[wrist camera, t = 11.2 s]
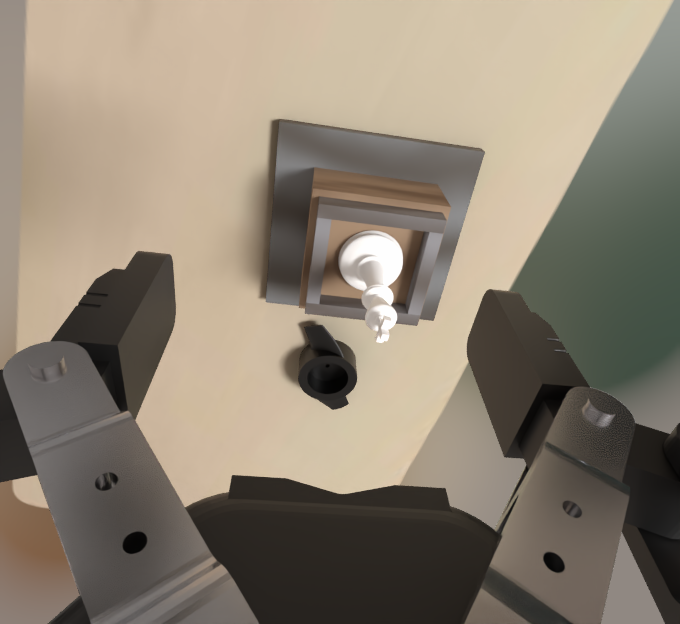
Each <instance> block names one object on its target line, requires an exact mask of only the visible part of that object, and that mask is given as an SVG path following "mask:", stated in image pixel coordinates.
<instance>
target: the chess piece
mask: <svg viewBox="0 0 680 624" xmlns="http://www.w3.org/2000/svg"><path fill="white" fill-rule="evenodd" d="M338 264H339V269H340V271H341V274H342V276H343V278H344V279H345V281H346V282H347V283H348V284H350V285H351V286H352V287H354V288H356V289H359V290H362V291H364V292H363V294H362V298H361V300H362V304H363V305H364V307H365V308H366V309H367V312H366V315H365V322H366V324H367V326H368V327H369V328H370V329H372V330H374V331H378V332H377V335H376V337H375V338H376V342H380V343H383V341H387V340H388V338H389V331H388V330H389V329H390V328H392V327H393V326H394V325H395V323H396V321H397V313H396V311H395V309H394V308H393V307H392V306H391V304H392V302H393V293H392V291H391V289H390V288H389V287H387V286H389V285H390V284H392V283H393V282H394V281H395V280H396V279H397V277H398V276H399V274H400V272H401V270H402V266H403V254H402V250H401V247H400V245H399V244H398V242H397V241H396V240H395V239H394V238H393V237H392V236H390V235H388V234H386V233H384V232H381V231H374V230H370V231H364V232H360V233H358V234H356V235H354V236H352V237H351V238H349V239H348V240H347V241H346V242H345V244H344V245H343V246H342V248H341V250H340V253H339V258H338Z"/></svg>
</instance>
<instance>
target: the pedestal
mask: <svg viewBox="0 0 680 624" xmlns="http://www.w3.org/2000/svg"><path fill="white" fill-rule="evenodd" d="M484 153H485V152H484V151H483V150H482V149H480V148H473V147H466V146H459V145H453V144H446V143H439V142H433V141H426V140H419V139H412V138H406V137H399V136H392V135H385V134H379V133H372V132H365V131H358V130H352V129H345V128H338V127H331V126H325V125H318V124H311V123H304V122H298V121H291V120H284V119H280V121H279V131H278V144H277V158H276V171H275V185H274V198H273V211H272V225H271V238H270V251H269V265H268V278H267V291H266V302H269V303H278V304H287V305H296V306H299V308H305V314H314V315H323V316H332V317H341V318H350V319H360V320H365V315H366V312H367V309H366V308H365V307H364V305H363V304H362V300H361V298H362V294H363V292H364V291H362V290H359V289H356V288H354V287H352V286H351V285H350V284H348V283H347V282H346V281H345V279H344V278H343V276H342V274H341V271H340V269H339V264H338V258H339V253H340V250H341V248H342V246H343V245H344V244H345V242H346V241H347V240H348V239H349V238H351V237H352V236H354V235H356V234H358V233H360V232H364V231H370V230H374V231H381V232H384V233H386V234H388V235H390V236H392V237H393V238H394V239H395V240H396V241H397V242H398V244H399V245H400V247H401V250H402V254H403V266H402V270H401V272H400V274H399V276H398V277H397V279H396V280H395V281H394V282H393V283H392V284H390V285H389V286H387V287H389V288H390V289H391V291H392V293H393V302H392V304H391V306H392V307H393V308H394V309H395V311H396V313H397V321H396V324H406V325H415V326H417V325H418V321H419V319H423V320H432V321H434V318H435V315H436V311H437V308H438V305H439V301H440V298H441V295H442V292H443V288H444V285H445V282H446V278H447V275H448V272H449V269H450V265H451V262H452V259H453V255H454V252H455V249H456V246H457V242H458V239H459V236H460V232H461V229H462V226H463V223H464V219H465V216H466V213H467V209H468V206H469V203H470V200H471V196H472V193H473V190H474V186H475V183H476V180H477V176H478V173H479V170H480V167H481V163H482V160H483V157H484Z"/></svg>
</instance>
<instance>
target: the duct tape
mask: <svg viewBox="0 0 680 624" xmlns="http://www.w3.org/2000/svg"><path fill="white" fill-rule="evenodd" d="M304 328H305V331H306V333H307V335H308V338H309V341H310V344H309V345H308V346H307V347H306V348H305V349H304V350H303V351H302V353H301V356H300V361H299V376H298V380H299V384H300V387H301V388H302V390H303V391H304V392H305V393H306V394H308V395H309V396H311V397H313V398H315V399H317V400H319V401H320V402H322V403H323V404H325V405H326V406H328V407H329V408H331V409H332V410H334V409H339V408H342V407H344V406H346V405H348V404H349V403H348V401H347V399H346V395H348V394H349V393H350V392H351V391H352V390H353V389H354V387H355V385H356V382H357V371H356V359H355V355H354V353H353V351H352V350H351V348H350V347H349V346H347V345H346V344H344V343H343V342H340V341H337V340H334V338H333V337H332V336H331V335H330V333H329V332H328V331H327V330H326V329H325V327H324V326H323V325H313V326H306V327H304Z"/></svg>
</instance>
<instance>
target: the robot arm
mask: <svg viewBox="0 0 680 624" xmlns="http://www.w3.org/2000/svg"><path fill="white" fill-rule="evenodd" d="M175 315H176V303H175V288H174V273H173V261H172V257H171V255H170V254H162V253H153V252H144V251H138V252H136V254H135V255H134V257H133V258H132V260H131V261H130V263H129V264H128V266H127V267H126V269H125V270H122V269H112V270H110V271H109V272H107V273H105V274H104V275H102V276H100V277H99V278H97V279H96V280H95V281H94V283H93V284H92V285H91V287H90V288H89V289H88V291H87V292H86V295H84V296H83V297H82V299H81V300H80V302H79V305H78V306H76V307H75V308H74V310H73V311H72V312H71V314H70V315H69V317H68V318H67V319H66V321H65V322H64V323H63V325H62V326H61V327H60V329H59V330H58V331H57V333H56V334H55V336H54V337H53V338H52V340H51V341H50V342H44V343H40V344H36V345H33V346H30V347H28V348H26V349H23V350H22V351H20V352H18V353H17V354H15V355H14V356H13V357H12V358H11V359H10V360H9V361H8V362H7V363H6V365H5V367H4V369H3V370H0V482H4V481H9V480H14V479H19V478H24V477H29V476H34V475H38V478H39V481H40V484H41V487H42V489H43V492H44V495H45V498H46V501H47V504H48V506H49V509H50V512H51V515H52V518H53V520H54V523H55V526H56V529H57V532H58V535H59V537H60V540H61V543H62V546H63V549H64V552H65V554H66V557H67V560H68V563H69V566H70V569H71V571H72V574H73V577H74V580H75V583H76V586H77V589H78V591H79V594H80V596H79V597H78V598H77V599H75V600H74V601H73V602H72V603H71V604H70V605H68V606H67V607H66V608H65V609H64V610H63V611H62V612H60V613H59V614H58V615H57V616H56V617H55V618H54V619H53V620H51V621H50V622H49V623H48V624H601V621H602V616H603V612H604V607H605V603H606V599H607V594H608V590H609V585H610V581H611V577H612V572H613V567H614V563H615V559H616V554H617V550H618V545H619V541H620V537H621V532H622V533H623V535H624V537H625V539H626V541H627V543H628V546H629V548H630V550H631V552H632V554H633V556H634V558H635V560H636V563H637V565H638V567H639V569H640V571H641V573H642V575H643V577H644V580H645V582H646V584H647V586H648V588H649V590H650V592H651V594H652V596H653V599H654V601H655V603H656V605H657V607H658V609H659V611H660V613H661V616H662V618H663V620H664V622H665V624H680V423H679V424H678V425H677V426H676V427H675V429H674V430H673V431H672V433H671V434H668V433H665V432H662V431H659V430H655V429H652V428H649V427H646V426H643V425H639V424H636V423H635V420H634V417H633V415H632V414H631V412H630V411H629V410H628V408H627V407H626V406H625V405H623V403H621V402H620V401H619V400H617V399H616V398H614V397H613V396H611V395H609V394H607V393H605V392H603V391H600V390H598V389H594V388H590V386H589V385H588V383H587V382H586V380H585V379H584V377H583V375H582V374H581V372H580V371H579V369H578V368H577V366H576V364H575V363H574V361H573V360H572V358H571V357H570V355H569V353H566V349H565V347H564V346H563V344H562V342H559V338H558V336H557V335H556V333H555V331H554V330H553V328H552V327H551V325H549V324H548V323H547V322H546V321H545V320H543V319H542V318H541V317H540V316H539V315H537V314H536V313H533V312H531V311H530V310H529V308H528V306H527V305H526V303H525V301H524V300H523V298H522V296H521V295H520V294H519V293H517V292H511V291H502V290H492V289H489V290H487V291H486V293H485V294H484V296H483V299H482V301H481V304H480V307H479V310H478V312H477V315H476V318H475V320H474V323H473V326H472V328H471V331H470V334H469V337H468V342H467V357H468V360H469V363H470V366H471V368H472V371H473V374H474V377H475V379H476V382H477V384H478V387H479V390H480V393H481V395H482V398H483V401H484V403H485V406H486V409H487V412H488V414H489V417H490V420H491V422H492V425H493V428H494V430H495V433H496V436H497V439H498V441H499V444H500V447H501V449H502V452H503V454H504V457H509V458H523V459H524V460H525V462H526V467H525V468H524V470H523V472H522V474H521V476H520V478H519V480H518V482H517V484H516V486H515V488H514V490H513V492H512V494H511V496H510V498H509V500H508V503H507V504H506V507H505V509H504V511H503V513H502V515H501V517H500V519H499V521H498V523H497V525H496V527H495V529H492V528H491V527H490V526H488V525H487V524H485V523H484V522H482V521H481V520H479V519H478V518H476V517H474V516H472V515H470V514H468V513H466V512H464V511H462V510H459V509H457V508H454V507H451V506H450V505H449V501H448V497H447V493H446V489H445V488H429V487H414V486H398V485H394V486H388V487H383V488H377V489H372V490H366V491H361V492H355V493H350V494H337V493H333V492H330V491H327V490H323V489H320V488H317V487H313V486H310V485H307V484H303V483H300V482H296V481H293V480H290V479H286V478H270V477H254V476H238V475H232V479H231V484H230V490H229V492H227V493H222V494H217V495H214V496H211V497H207V498H204V499H202V500H200V501H197V502H195V503H193V504H191V505H189V506H187V507H184V505H183V503H182V502H181V500H180V498H179V496H178V495H177V493H176V491H175V489H174V488H173V486H172V484H171V482H170V481H169V479H168V477H167V475H166V474H165V472H164V470H163V468H162V467H161V465H160V463H159V461H158V460H157V458H156V456H155V455H154V453H153V451H152V449H151V448H150V446H149V444H148V442H147V441H146V439H145V437H144V435H143V434H142V432H141V430H140V428H139V427H138V425H137V423H136V421H135V419H136V417H137V414H138V412H139V410H140V407H141V405H142V403H143V400H144V398H145V395H146V393H147V391H148V388H149V386H150V383H151V381H152V379H153V376H154V374H155V371H156V369H157V367H158V364H159V362H160V360H161V357H162V355H163V352H164V350H165V348H166V345H167V343H168V340H169V338H170V336H171V333H172V331H173V327H174V323H175Z"/></svg>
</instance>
